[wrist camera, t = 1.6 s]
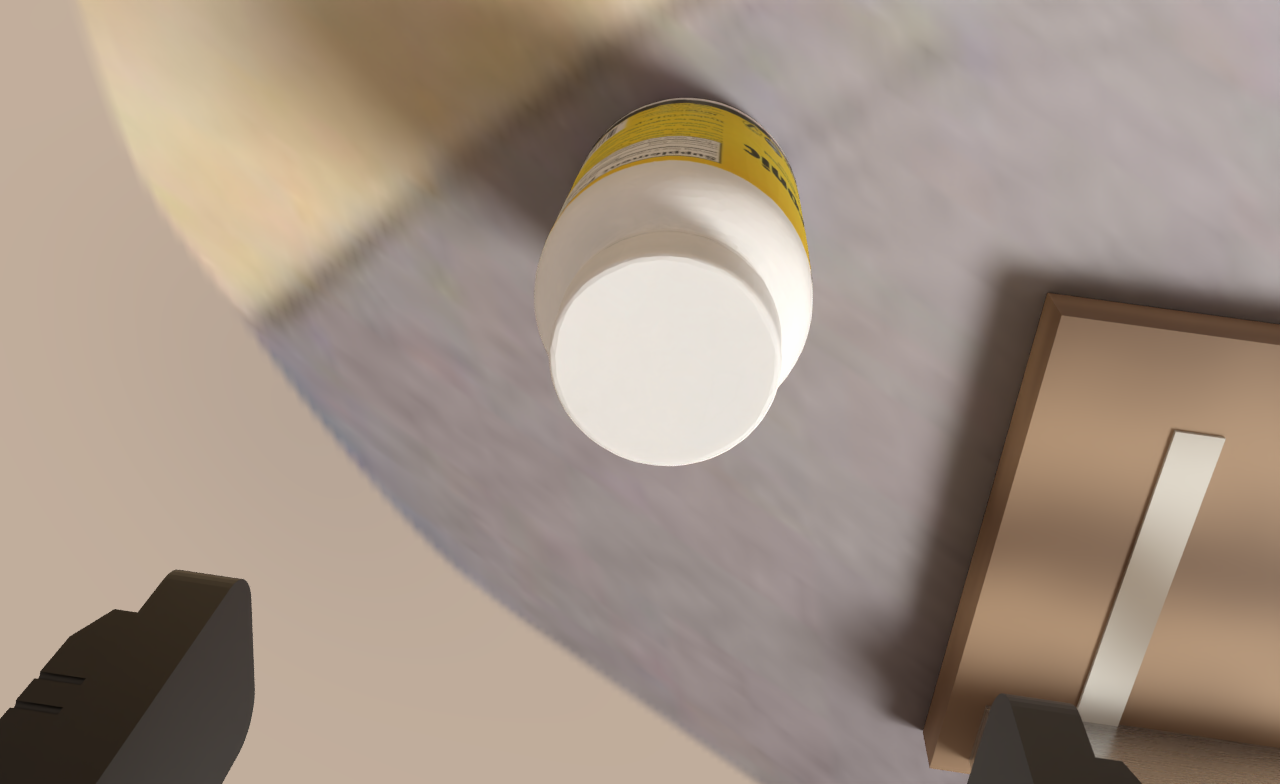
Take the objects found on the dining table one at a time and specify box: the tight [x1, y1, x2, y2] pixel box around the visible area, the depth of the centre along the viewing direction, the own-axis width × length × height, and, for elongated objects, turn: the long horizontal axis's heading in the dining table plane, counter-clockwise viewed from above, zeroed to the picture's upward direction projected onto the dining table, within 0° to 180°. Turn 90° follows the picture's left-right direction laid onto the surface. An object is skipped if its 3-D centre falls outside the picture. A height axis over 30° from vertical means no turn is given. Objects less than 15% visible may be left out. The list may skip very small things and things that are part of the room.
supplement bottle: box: [534, 98, 813, 466], centre depth 24 cm, size 5×5×10 cm
